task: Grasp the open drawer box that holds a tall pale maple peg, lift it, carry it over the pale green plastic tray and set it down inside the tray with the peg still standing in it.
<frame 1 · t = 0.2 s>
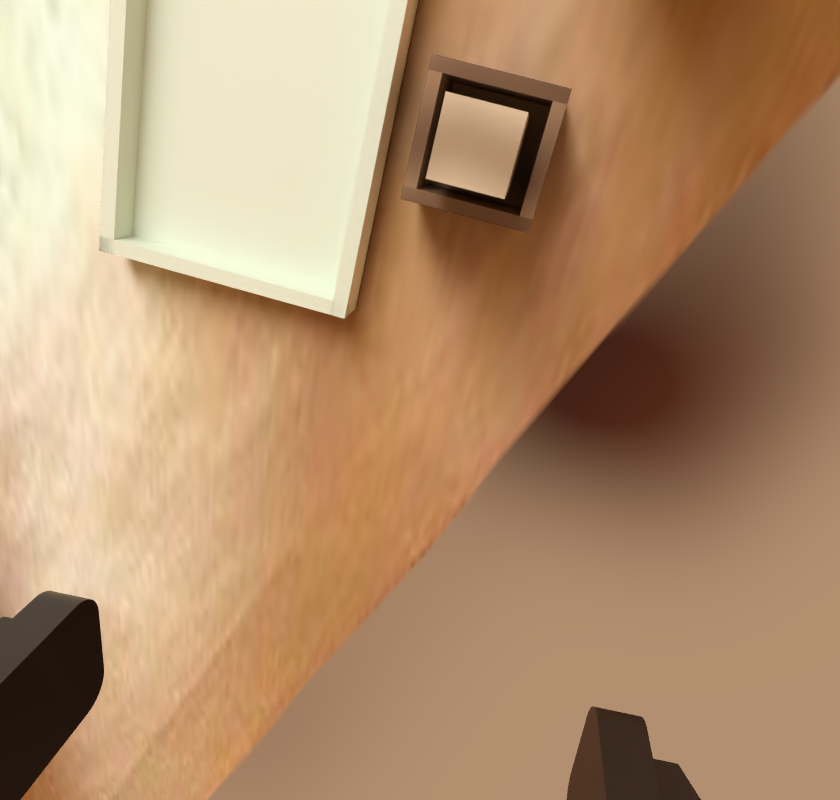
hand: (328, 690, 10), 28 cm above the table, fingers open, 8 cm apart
peg: (488, 146, 32), point 1 cm above the table, touching open drawer box
open drawer box: (488, 146, 33), on the table, touching peg
tray: (263, 88, 34), on the table
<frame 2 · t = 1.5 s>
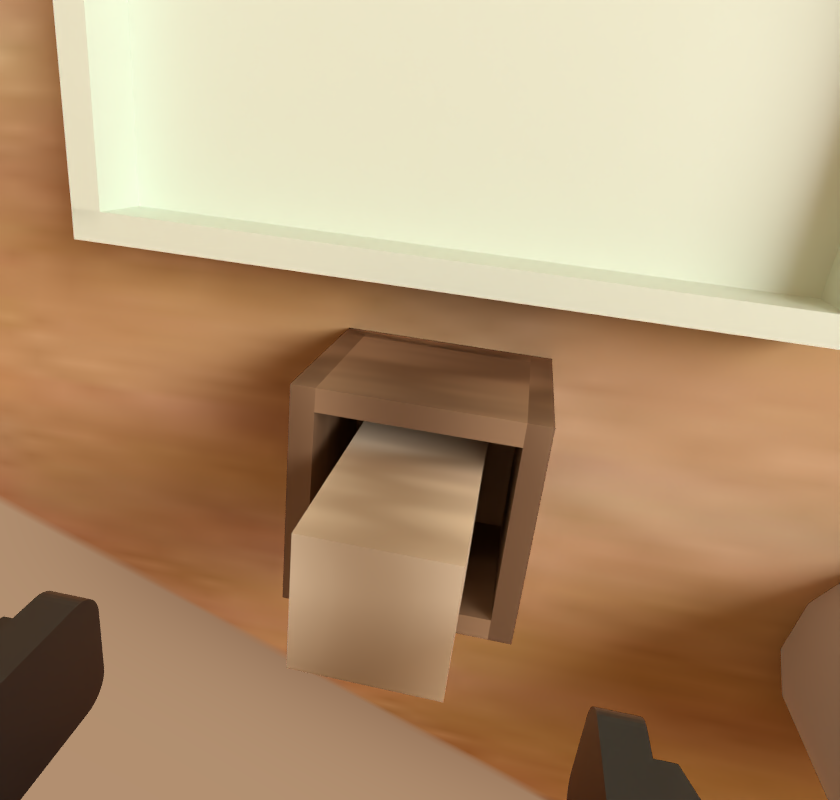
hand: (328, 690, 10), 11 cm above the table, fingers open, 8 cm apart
peg: (433, 443, 20), point 1 cm above the table, touching open drawer box
open drawer box: (436, 435, 20), on the table, touching peg
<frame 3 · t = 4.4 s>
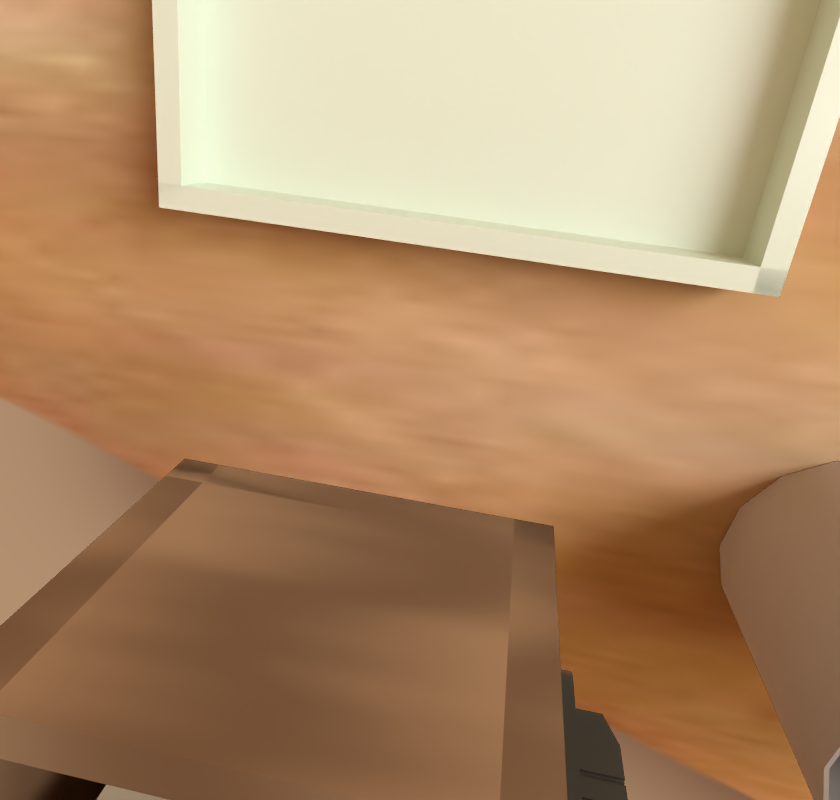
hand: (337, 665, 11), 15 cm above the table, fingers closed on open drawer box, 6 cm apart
peg: (340, 664, 11), point 15 cm above the table, touching open drawer box
open drawer box: (349, 639, 12), point 15 cm above the table, touching gripper, peg
tray: (493, 12, 20), on the table
cup: (831, 555, 26), on the table
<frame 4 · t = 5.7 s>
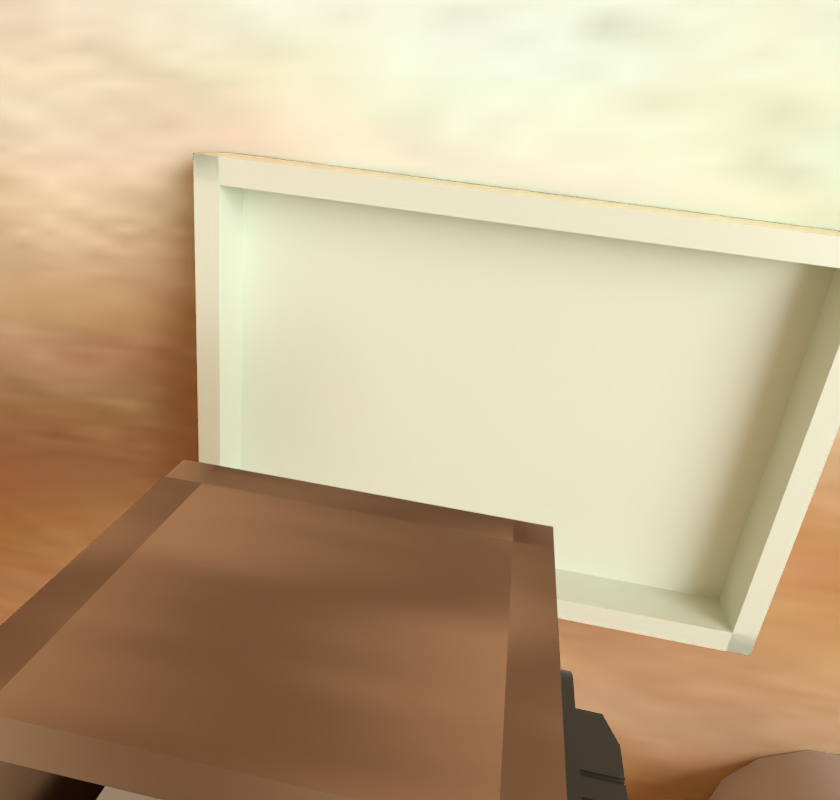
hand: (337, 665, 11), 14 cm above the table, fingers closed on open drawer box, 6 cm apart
peg: (340, 664, 11), point 14 cm above the table, touching open drawer box
open drawer box: (349, 639, 12), point 13 cm above the table, touching gripper, peg
tray: (496, 396, 23), on the table
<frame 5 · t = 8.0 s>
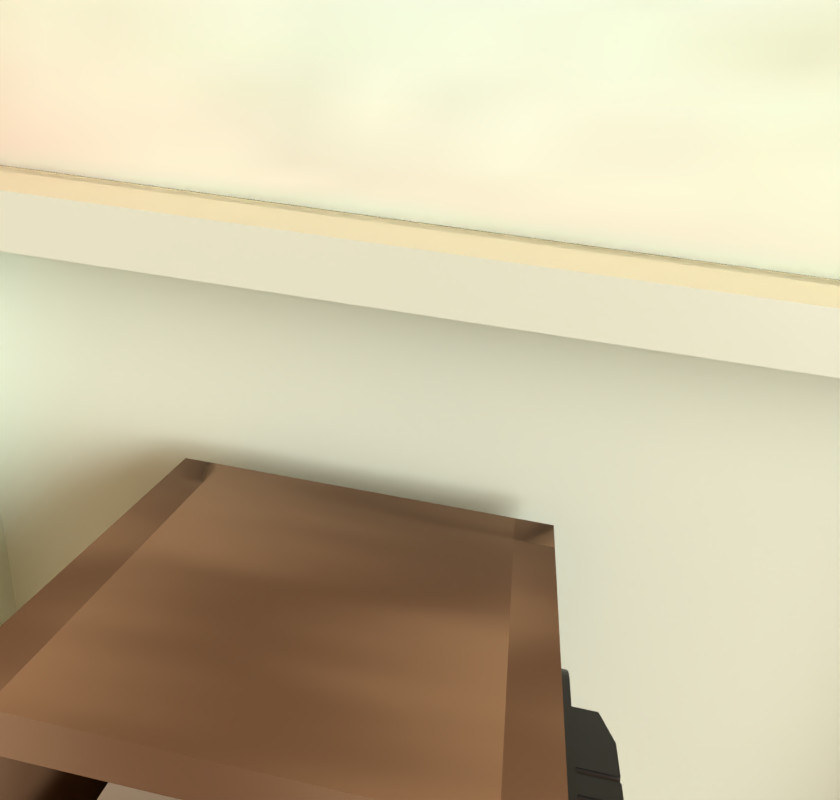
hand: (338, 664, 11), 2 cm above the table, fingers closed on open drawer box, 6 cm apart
peg: (341, 663, 11), point 2 cm above the table, touching open drawer box
open drawer box: (350, 638, 12), point 1 cm above the table, touching gripper, peg
tray: (464, 604, 13), on the table
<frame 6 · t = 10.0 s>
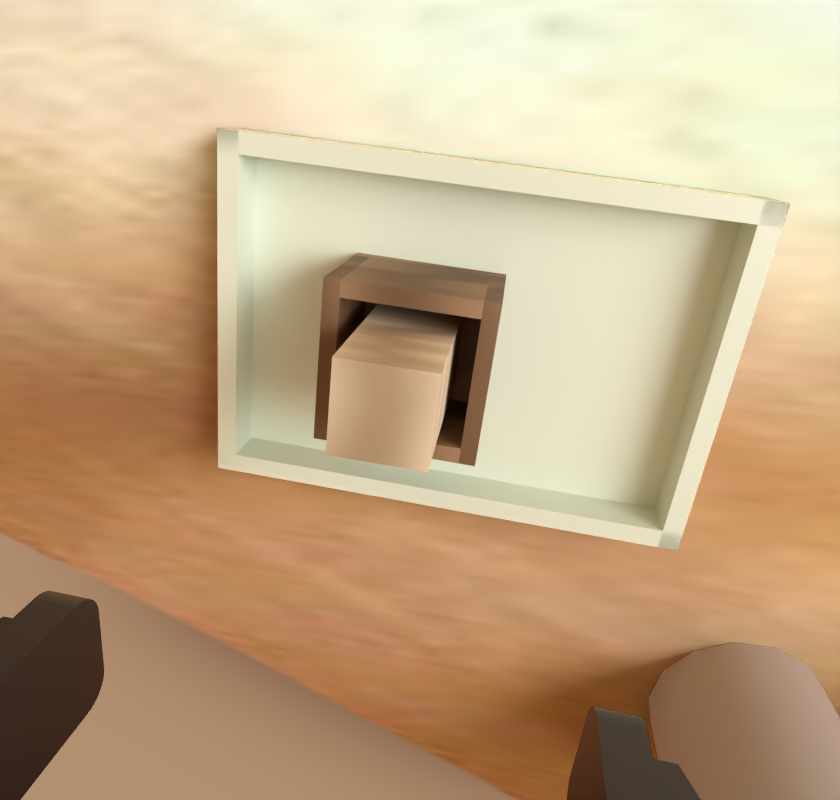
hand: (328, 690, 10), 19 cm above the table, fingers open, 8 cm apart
peg: (420, 339, 27), point 1 cm above the table, touching open drawer box
open drawer box: (422, 335, 27), point 1 cm above the table, touching peg, tray
tray: (468, 336, 28), on the table
cup: (734, 706, 33), on the table
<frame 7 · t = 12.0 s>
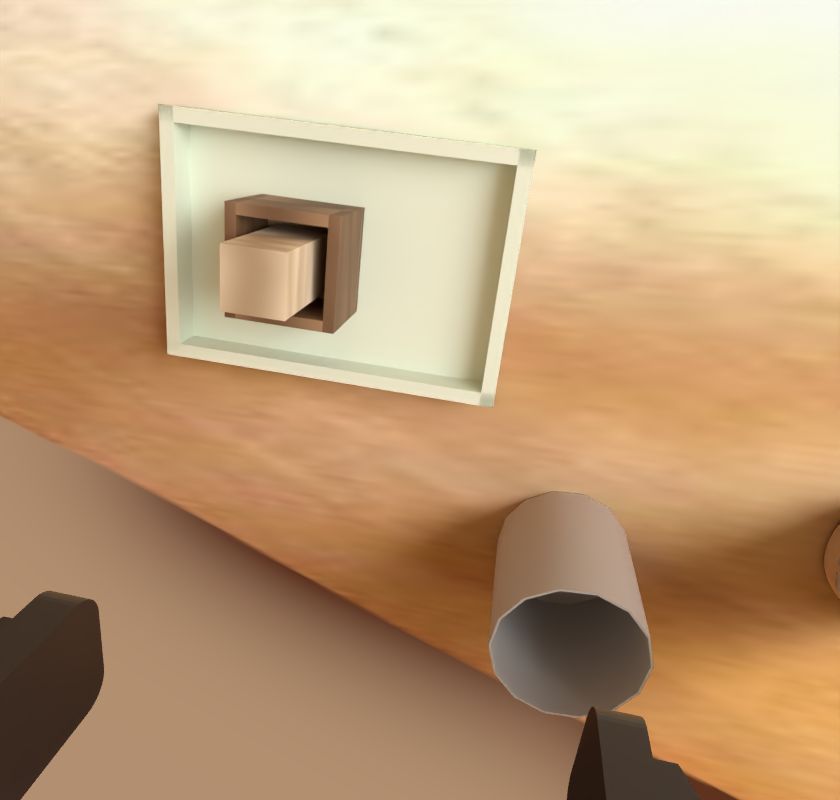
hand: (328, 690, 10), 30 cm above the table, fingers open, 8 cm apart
peg: (307, 255, 38), point 1 cm above the table, touching open drawer box
open drawer box: (310, 253, 38), point 1 cm above the table, touching peg, tray
tray: (344, 255, 39), on the table
cup: (561, 545, 44), on the table
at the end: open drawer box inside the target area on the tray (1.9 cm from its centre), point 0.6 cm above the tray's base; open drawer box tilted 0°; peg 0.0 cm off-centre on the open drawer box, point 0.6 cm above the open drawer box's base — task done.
